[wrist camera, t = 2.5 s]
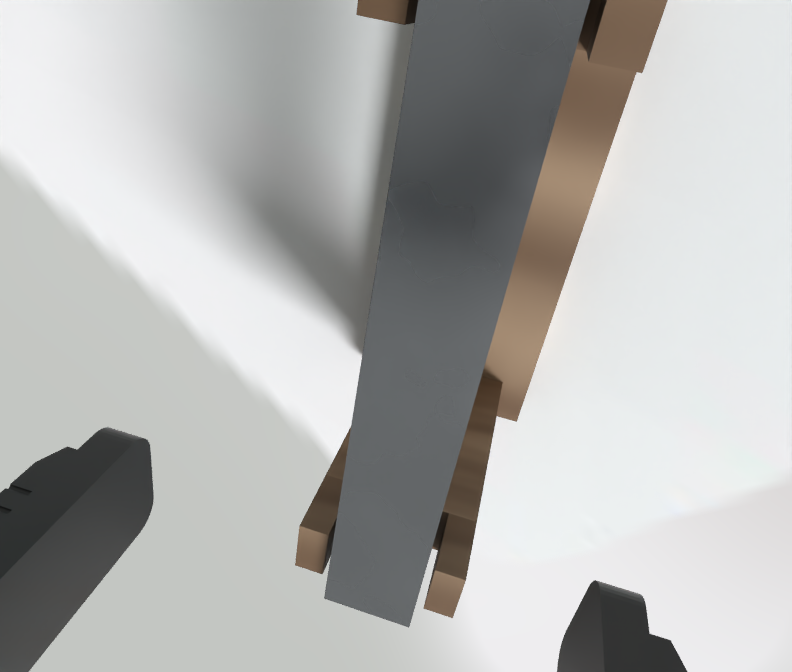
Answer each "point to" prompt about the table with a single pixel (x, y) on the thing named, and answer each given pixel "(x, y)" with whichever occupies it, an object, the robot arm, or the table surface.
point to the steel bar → (443, 275)
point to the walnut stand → (518, 274)
